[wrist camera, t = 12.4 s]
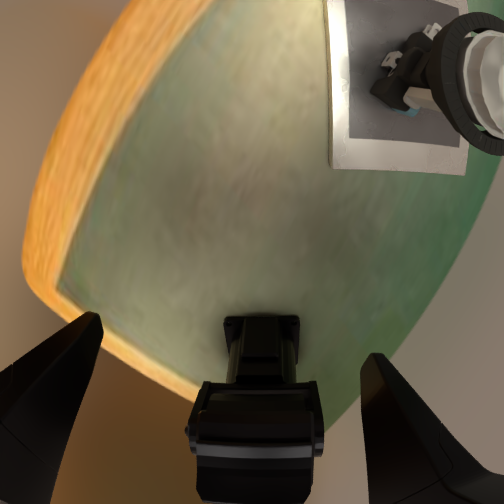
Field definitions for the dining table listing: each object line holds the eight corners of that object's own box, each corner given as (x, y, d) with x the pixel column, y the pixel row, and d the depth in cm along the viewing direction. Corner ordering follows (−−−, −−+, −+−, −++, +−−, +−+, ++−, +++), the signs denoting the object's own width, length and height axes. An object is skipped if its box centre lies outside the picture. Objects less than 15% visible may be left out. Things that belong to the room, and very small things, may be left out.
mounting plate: (456, 170, 18) (466, 176, 17) (328, 163, 19) (332, 170, 18) (456, -9, 11) (466, -12, 10) (318, -38, 12) (321, -46, 10)
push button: (395, 2, 12) (497, -39, 3) (459, 56, 13) (576, 69, 4) (345, 83, 15) (429, 91, 6) (414, 133, 16) (520, 193, 7)
